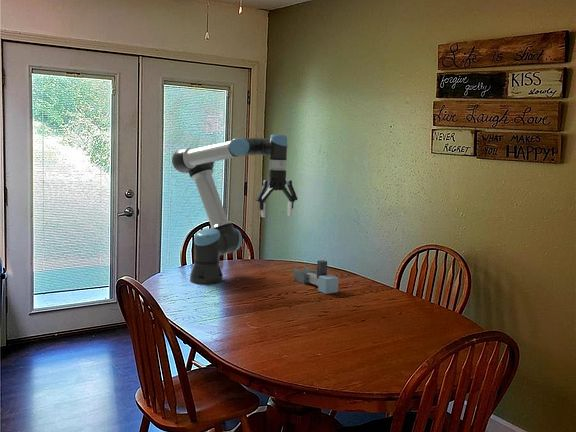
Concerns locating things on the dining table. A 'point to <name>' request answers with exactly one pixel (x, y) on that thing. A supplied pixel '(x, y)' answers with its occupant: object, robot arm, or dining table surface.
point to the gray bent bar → (320, 272)
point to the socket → (328, 284)
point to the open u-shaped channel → (302, 275)
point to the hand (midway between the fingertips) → (276, 216)
